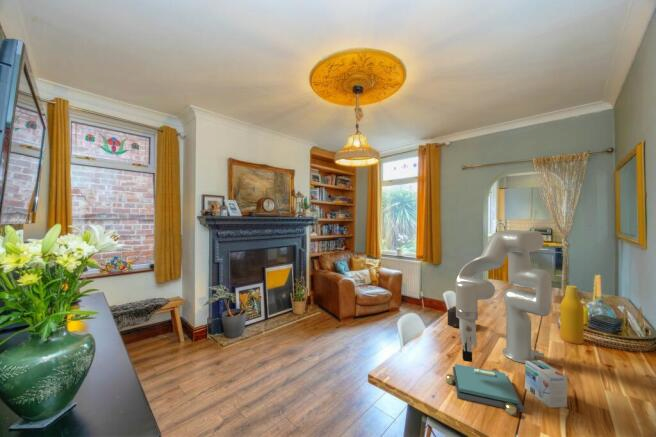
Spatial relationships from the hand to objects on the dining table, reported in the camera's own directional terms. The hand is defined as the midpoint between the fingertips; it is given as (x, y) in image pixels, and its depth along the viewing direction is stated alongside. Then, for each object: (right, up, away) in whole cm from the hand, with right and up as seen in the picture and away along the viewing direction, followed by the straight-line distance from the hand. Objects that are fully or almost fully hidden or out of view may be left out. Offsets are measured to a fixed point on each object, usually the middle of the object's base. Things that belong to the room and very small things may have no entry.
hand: (467, 360), depth 102 cm
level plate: (+5, -8, -2) cm, 9 cm away
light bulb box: (+25, -10, -7) cm, 28 cm away
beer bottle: (+76, -10, +38) cm, 86 cm away
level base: (+4, -10, -2) cm, 11 cm away
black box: (+27, -10, +55) cm, 63 cm away
